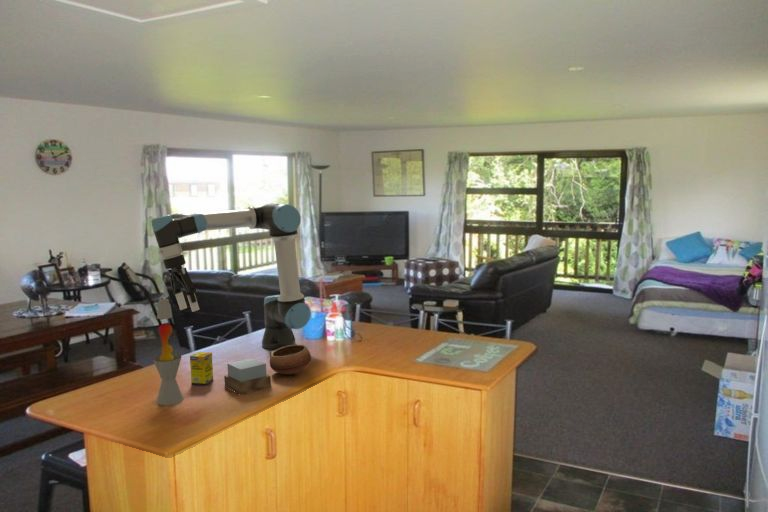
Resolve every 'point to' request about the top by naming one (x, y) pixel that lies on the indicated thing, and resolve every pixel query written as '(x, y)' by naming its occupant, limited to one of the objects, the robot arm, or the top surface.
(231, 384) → the tower base slab
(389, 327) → the top surface
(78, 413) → the top surface
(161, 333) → the lava lamp
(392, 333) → the top surface
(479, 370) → the top surface
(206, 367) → the supplement box
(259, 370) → the tower top block
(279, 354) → the bowl
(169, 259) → the robot arm
